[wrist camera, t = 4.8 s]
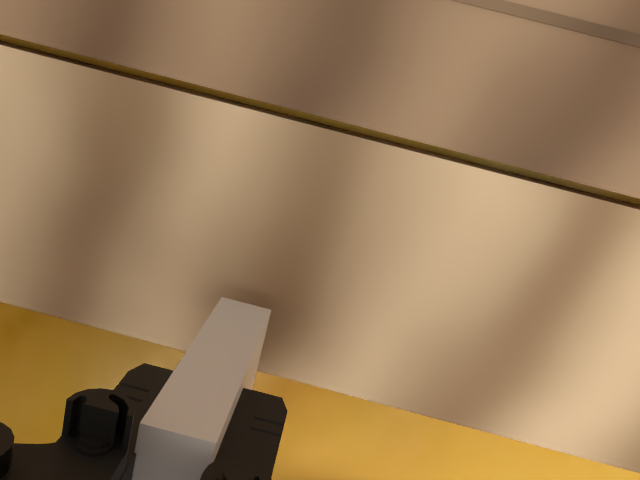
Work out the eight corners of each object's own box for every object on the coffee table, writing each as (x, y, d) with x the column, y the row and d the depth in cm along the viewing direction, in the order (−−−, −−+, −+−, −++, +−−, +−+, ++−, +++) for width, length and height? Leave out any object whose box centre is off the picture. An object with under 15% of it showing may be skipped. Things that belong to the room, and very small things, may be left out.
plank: (-130, 245, 22) (-166, 257, 20) (-117, 11, 19) (-156, 4, 18) (651, 454, 21) (671, 481, 19) (749, 233, 19) (779, 245, 17)
